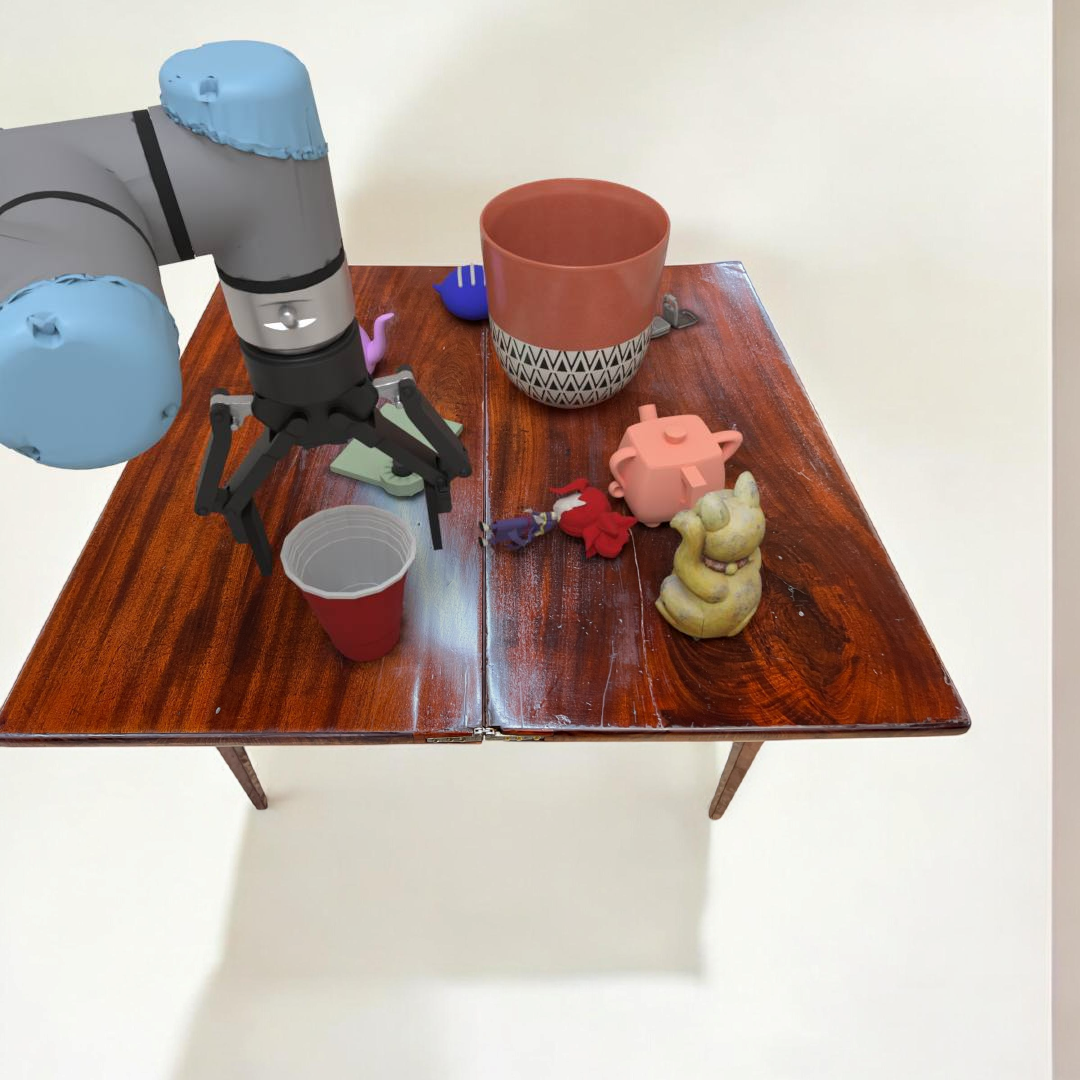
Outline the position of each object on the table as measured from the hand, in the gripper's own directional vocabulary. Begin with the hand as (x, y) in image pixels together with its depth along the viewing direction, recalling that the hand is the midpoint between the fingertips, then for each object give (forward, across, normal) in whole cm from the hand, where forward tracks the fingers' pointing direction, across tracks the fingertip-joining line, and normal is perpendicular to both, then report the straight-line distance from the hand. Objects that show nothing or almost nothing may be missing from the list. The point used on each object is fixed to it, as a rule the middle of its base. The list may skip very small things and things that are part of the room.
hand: (353, 551), depth 69 cm
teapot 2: (+12, +32, +12) cm, 36 cm away
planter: (+12, +26, +32) cm, 43 cm away
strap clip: (+12, +42, +43) cm, 61 cm away
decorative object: (+12, +17, +52) cm, 56 cm away
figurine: (+12, +19, +7) cm, 23 cm away
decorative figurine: (+12, +31, -4) cm, 33 cm away
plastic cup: (+11, 0, 0) cm, 11 cm away
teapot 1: (+11, -2, +41) cm, 42 cm away
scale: (+11, +5, +25) cm, 28 cm away
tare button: (+9, +5, +19) cm, 22 cm away
